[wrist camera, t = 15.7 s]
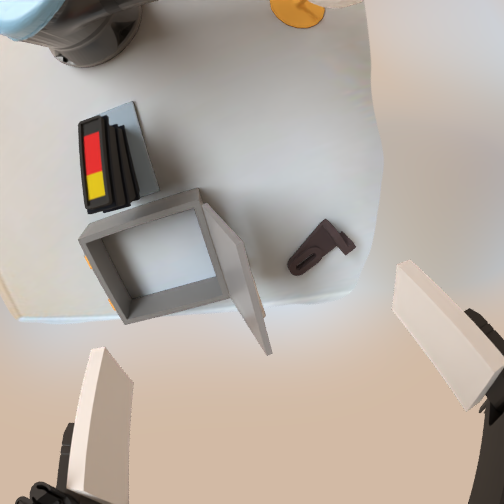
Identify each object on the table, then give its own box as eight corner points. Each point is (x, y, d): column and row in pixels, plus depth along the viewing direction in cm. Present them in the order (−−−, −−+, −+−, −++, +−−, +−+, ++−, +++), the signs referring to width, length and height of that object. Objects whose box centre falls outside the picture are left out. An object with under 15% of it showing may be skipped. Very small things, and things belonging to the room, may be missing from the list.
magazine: (124, 218, 43) (83, 213, 28) (114, 141, 42) (75, 108, 27) (146, 213, 43) (112, 205, 28) (135, 135, 42) (102, 98, 27)
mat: (86, 120, 36) (85, 120, 35) (132, 101, 36) (132, 101, 36) (115, 205, 44) (114, 206, 43) (159, 189, 44) (159, 191, 44)
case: (86, 224, 44) (52, 274, 31) (226, 179, 45) (240, 215, 32) (126, 304, 53) (114, 365, 40) (250, 271, 55) (269, 329, 41)
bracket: (277, 255, 54) (284, 270, 50) (330, 213, 52) (342, 224, 48) (293, 274, 57) (302, 289, 53) (344, 235, 55) (356, 247, 51)
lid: (235, 245, 28) (246, 240, 28) (201, 204, 39) (209, 201, 40) (266, 355, 37) (274, 352, 37) (231, 298, 48) (237, 296, 48)
